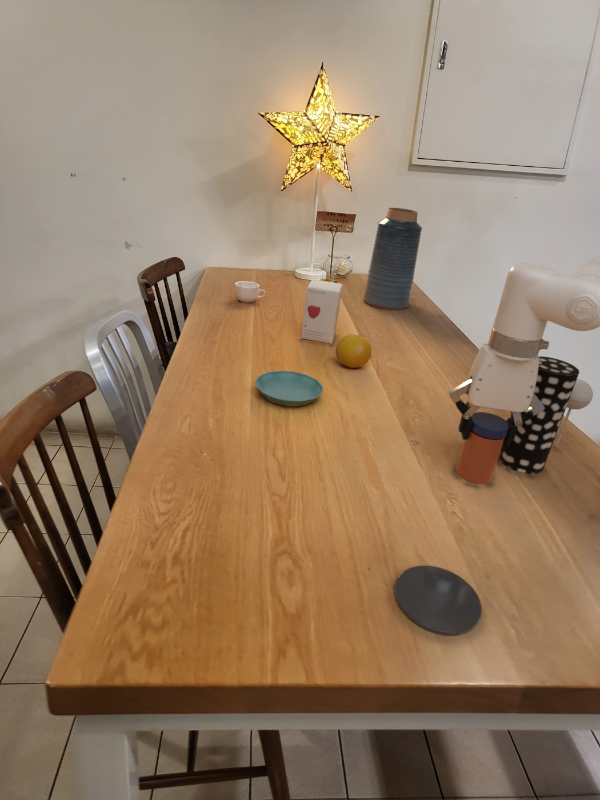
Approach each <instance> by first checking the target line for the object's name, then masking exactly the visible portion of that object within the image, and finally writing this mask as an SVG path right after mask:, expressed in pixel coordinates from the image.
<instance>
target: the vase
mask: <svg viewBox="0 0 600 800" xmlns="http://www.w3.org/2000/svg"><path fill="white" fill-rule="evenodd" d="M422 230H423V227H422V225H420V224H419V222H418V211H416V210H413V209H408V208H403V207H402V208H401V207H388V209H387V212H386V215H385V217H384V218H382V219H381V220H379V221H378V222H377V229H376V234H375V237H374V243H373V248H372V249H373V250H372V254H371V259H370V262H369V269H368V273H367V277H366V283H365V286H364V291H363V300H364V302H365V303H367V304H368V305H369V306H372V307H375V308H378V309H384V310H389V311H391V310H392V311H393V310H395V311H398V310H399V311H400V310H405V309H407V307H409V305H410V302H411V296H412V291H413V284H414V279H415V272H416V265H417V259H418V254H419V248H420V242H421V236H422V232H423V231H422Z"/></svg>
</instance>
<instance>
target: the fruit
mask: <svg viewBox="0 0 600 800" xmlns="http://www.w3.org/2000/svg"><path fill="white" fill-rule="evenodd" d="M335 355H336V358H337V361H338V362H339V363H341V365H343V366H345V367H348V368H351V369H352V368H353V369H357V368H362V367H363V366H365V365H366V364H368V362H369V361H370V360H371V357H372V346H371V344H370V342H369V341H368V340H367V339H366V338H364V337H362V336H361V335H359V334H354V333H353V334H346V335H344V336H342V337H341V338H340V339H339V340H338V342H337V343H336V346H335Z"/></svg>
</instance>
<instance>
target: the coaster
mask: <svg viewBox="0 0 600 800" xmlns="http://www.w3.org/2000/svg"><path fill="white" fill-rule="evenodd" d="M394 595H395V596H394V598H395V601H396V603H397V605H398V607H399V609H400V610H401V611H402V613H403V614H404V615H405V616H406V617H407V619H409V621H411V622H413V624H414V625H417V626H418V627H420V628H421V629H424V630H425V631H428V632H430V633H434V634H437V635H442V636H451V637H452V636H460V635H465V634H466V633H469V632H470V631H472V630H474V628H476V627H477V625H478V624H479V622H480V619H481V617H482V612H483V611H482V603H481V600H480V597H479V595H478V593H477V592H476V590H475V589H474V588H473V586H472V585H470V583H468V582H467V581H466V580H465V579H464V578H463V577H461V576H460V575H458V574H457V573H455V572H452V571H450V570H448V569H445V568H442V567H439V566H435V565H417V566H412V567H410V568H408V569H406V570H404V571H403V572H401V573H400V575H399V576H398V577H397V579H396V581H395V586H394Z"/></svg>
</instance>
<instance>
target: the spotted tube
mask: <svg viewBox="0 0 600 800" xmlns="http://www.w3.org/2000/svg"><path fill="white" fill-rule="evenodd" d="M538 356H539V368H538V374H537V380H536V385H535V389H534V393H535V395H536V396H537V397H538V399H539V400H540V401H541V403H542V404H543V406H544V407H545V409H544V410H543V411H542V412H540V413H538V414H537V415H534V416H533V417H532V418H531V419H529V420H528V421H526V422H524V423H522V426H520V427H518V429H517V432H516V435H515V438H514V440H511V443H510V446H506V445H504V444H503V447H502V450H501V453H500V456H499V459H498V460H499V461H500V463H502V464H503V465H504V466H506V467H507V468H509V469H512V470H513V471H516V472H519V473H523V474H529V475H535V474H539V473H541V472H543V470H544V468H545V467H546V464H547V460H548V458H549V455H550V452H551V449H552V447H553V444H554V442H555V439H556V436H557V433H558V431H559V428H560V425H561V423H562V420H563V418H564V415H565V412H566V410H567V404H568V401H569V399H570V396H571V393H572V391H573V388H574V385H575V383H576V380H577V379H578V378H579V374H580V370H579V369H578V368H577V366H575V365H573V364H572V363H569V362H567V361H566V360H565V361H564V360H562V359H558V358H554V357H551V356H541V355H538ZM531 406H532V403H530V406H529V408H530V407H531Z"/></svg>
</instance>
